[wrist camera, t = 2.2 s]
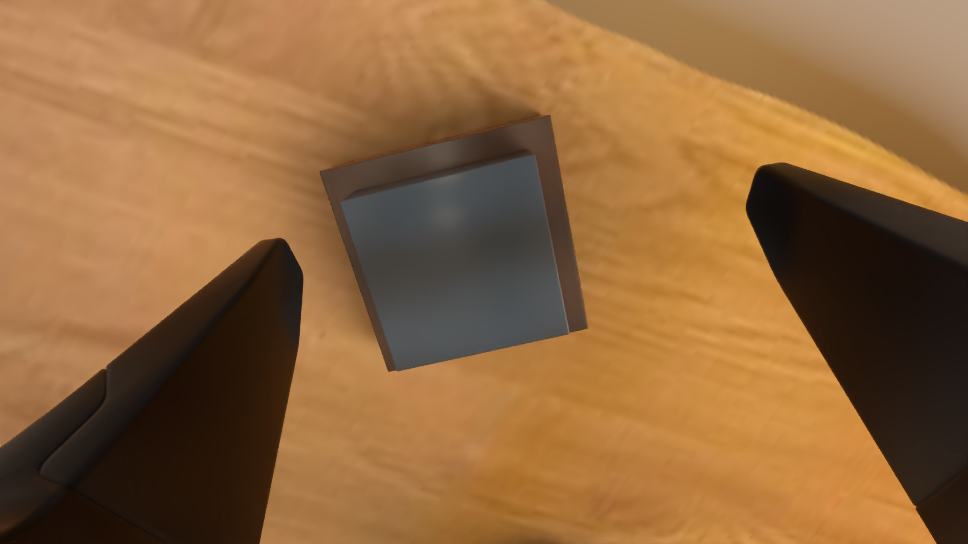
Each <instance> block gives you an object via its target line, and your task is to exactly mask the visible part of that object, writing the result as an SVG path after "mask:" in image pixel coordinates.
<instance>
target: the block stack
mask: <svg viewBox="0 0 968 544" xmlns="http://www.w3.org/2000/svg"><path fill="white" fill-rule="evenodd" d="M320 175H321V178H322V181H323V184H324V186H325V189H326V192H327V195H328V198H329V201H330V204H331V207H332V210H333V213H334V215H335V218H336V221H337V224H338V227H339V230H340V233H341V236H342V239H343V242H344V244H345V247H346V250H347V253H348V256H349V259H350V262H351V265H352V268H353V271H354V274H355V276H356V279H357V282H358V285H359V288H360V291H361V294H362V297H363V300H364V303H365V305H366V308H367V311H368V314H369V317H370V320H371V323H372V326H373V329H374V332H375V334H376V337H377V340H378V343H379V346H380V349H381V352H382V355H383V358H384V361H385V363H386V366H387V369H388V372H390V371H395V370H397V371H401V370H406V369H410V368H415V367H419V366H424V365H429V364H433V363H438V362H442V361H447V360H452V359H456V358H461V357H465V356H470V355H475V354H479V353H484V352H488V351H493V350H498V349H502V348H507V347H511V346H516V345H521V344H525V343H530V342H534V341H539V340H544V339H548V338H553V337H557V336H562V335H567V334H569V333H570V332H574V331H579V330H583V329H588V324H587V318H586V313H585V307H584V301H583V296H582V290H581V285H580V279H579V274H578V268H577V262H576V257H575V251H574V246H573V240H572V234H571V229H570V223H569V218H568V212H567V207H566V201H565V195H564V190H563V184H562V179H561V173H560V168H559V162H558V156H557V151H556V145H555V140H554V134H553V128H552V123H551V117H550V115H539V116H535V117H531V118H527V119H523V120H519V121H515V122H511V123H507V124H502V125H498V126H494V127H490V128H486V129H482V130H478V131H474V132H470V133H466V134H462V135H458V136H454V137H450V138H446V139H442V140H437V141H433V142H429V143H425V144H421V145H417V146H413V147H409V148H405V149H401V150H397V151H393V152H389V153H385V154H381V155H377V156H372V157H368V158H364V159H360V160H356V161H352V162H348V163H344V164H340V165H336V166H333V167H330V168H328V169H325V170H323V171H320Z"/></svg>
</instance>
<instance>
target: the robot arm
mask: <svg viewBox="0 0 968 544" xmlns="http://www.w3.org/2000/svg"><path fill="white" fill-rule="evenodd" d="M746 212H747V216H748V218H749V220H750V223H751V225H752V227H753V229H754V231H755V234H756V236H757V238H758V240H759V243H760V245H761V247H762V249H763V251H764V254H765V256H766V258H767V260H768V263H769V265H770V267H771V269H772V271H773V273H774V275H775V277H776V279H777V281H778V283H779V284H780V286H781V288H782V290H783V291H784V293H785V295H786V296H787V298H788V299H789V301H790V303H791V304H792V306H793V308H794V309H795V311H796V313H797V314H798V316H799V318H800V319H801V321H802V322H803V324H804V326H805V327H806V329H807V331H808V332H809V334H810V336H811V337H812V339H813V341H814V342H815V344H816V345H817V347H818V349H819V350H820V352H821V354H822V355H823V357H824V359H825V360H826V362H827V364H828V365H829V367H830V368H831V370H832V372H833V373H834V375H835V377H836V378H837V380H838V382H839V383H840V385H841V387H842V388H843V390H844V391H845V393H846V395H847V396H848V398H849V400H850V401H851V403H852V405H853V406H854V408H855V409H856V411H857V413H858V414H859V416H860V418H861V419H862V421H863V423H864V424H865V426H866V428H867V429H868V431H869V432H870V434H871V436H872V437H873V439H874V441H875V442H876V444H877V446H878V447H879V449H880V451H881V452H882V454H883V455H884V457H885V459H886V460H887V462H888V464H889V465H890V467H891V469H892V470H893V472H894V474H895V475H896V477H897V478H898V480H899V482H900V483H901V485H902V487H903V488H904V490H905V492H906V493H907V495H908V497H909V498H910V500H911V501H912V503H913V504H914V505H915V506H917V507H916V510H917V512H918V514H919V515H920V517H921V519H922V520H923V522H924V523H925V525H926V527H927V528H928V530H929V532H930V533H931V535H932V537H933V538H934V540H935V541H936V543H937V544H968V222H966V221H963V220H959V219H956V218H953V217H950V216H947V215H944V214H941V213H938V212H935V211H932V210H929V209H926V208H923V207H920V206H917V205H913V204H910V203H907V202H904V201H901V200H898V199H895V198H892V197H889V196H886V195H883V194H880V193H877V192H874V191H871V190H867V189H864V188H861V187H858V186H855V185H852V184H849V183H846V182H843V181H840V180H837V179H834V178H831V177H828V176H825V175H821V174H818V173H815V172H812V171H809V170H806V169H803V168H800V167H797V166H794V165H791V164H788V163H774V164H768V165H762V166H761V167H759V168H758V169H757V171H756V173H755V175H754V179H753V182H752V185H751V188H750V192H749V195H748V198H747V202H746ZM302 294H303V273H302V270H301V267H300V266H299V264H298V262H297V260H296V258H295V256H294V254H293V252H292V251H291V249H290V247H289V245H288V243H287V242H286V241H285V240H284V239H282V238H275V239H268V240H262V241H260V242H259V243H257V244H256V245H255V246H254V247H252V248H251V249H250V250H249V251H247V252H246V253H245V254H244V255H243V256H241V257H240V258H239V259H238V260H236V261H235V262H234V263H233V264H231V265H230V266H229V267H228V268H227V269H225V270H224V271H223V272H222V273H220V274H219V275H218V276H217V277H215V278H214V279H213V280H212V281H210V282H209V283H208V284H207V285H206V286H204V287H203V288H202V289H201V290H199V291H198V292H197V293H196V294H194V295H193V296H192V297H191V298H190V299H188V300H187V301H186V302H185V303H183V304H182V305H181V306H180V307H178V308H177V309H176V310H175V311H174V312H172V313H171V314H170V315H169V316H167V317H166V318H165V319H164V320H162V321H161V322H160V323H159V324H157V325H156V326H155V327H154V328H153V329H151V330H150V331H149V332H148V333H146V334H145V335H144V336H143V337H141V338H140V339H139V340H138V341H137V342H135V343H134V344H133V345H132V346H130V347H129V348H128V349H127V350H125V351H124V352H123V353H122V354H121V355H119V356H118V357H117V358H116V359H114V360H113V361H112V362H111V363H109V364H108V365H107V367H106V369H102V370H101V371H99V372H98V373H97V374H96V375H94V376H93V377H92V378H91V379H90V380H88V381H87V382H86V383H85V384H83V385H82V386H81V387H80V388H78V389H77V390H76V391H75V392H73V393H72V394H71V395H70V396H68V397H67V398H66V399H64V400H63V401H62V402H61V403H59V404H58V405H57V406H56V407H54V408H53V409H52V410H50V411H49V412H48V413H46V414H45V415H44V416H42V417H41V418H40V419H38V420H37V421H36V422H34V423H33V424H32V425H30V426H29V427H28V428H26V429H25V430H24V431H22V432H21V433H20V434H18V435H17V436H16V437H14V438H13V439H12V440H10V441H9V442H7V443H6V444H5V445H3V446H2V447H1V448H0V544H259V543H260V538H261V533H262V528H263V523H264V518H265V513H266V508H267V503H268V498H269V493H270V488H271V483H272V478H273V473H274V468H275V463H276V458H277V453H278V448H279V443H280V438H281V433H282V428H283V423H284V418H285V413H286V408H287V403H288V398H289V393H290V388H291V383H292V378H293V373H294V367H295V362H296V357H297V352H298V345H299V336H300V322H301V308H302Z"/></svg>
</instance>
